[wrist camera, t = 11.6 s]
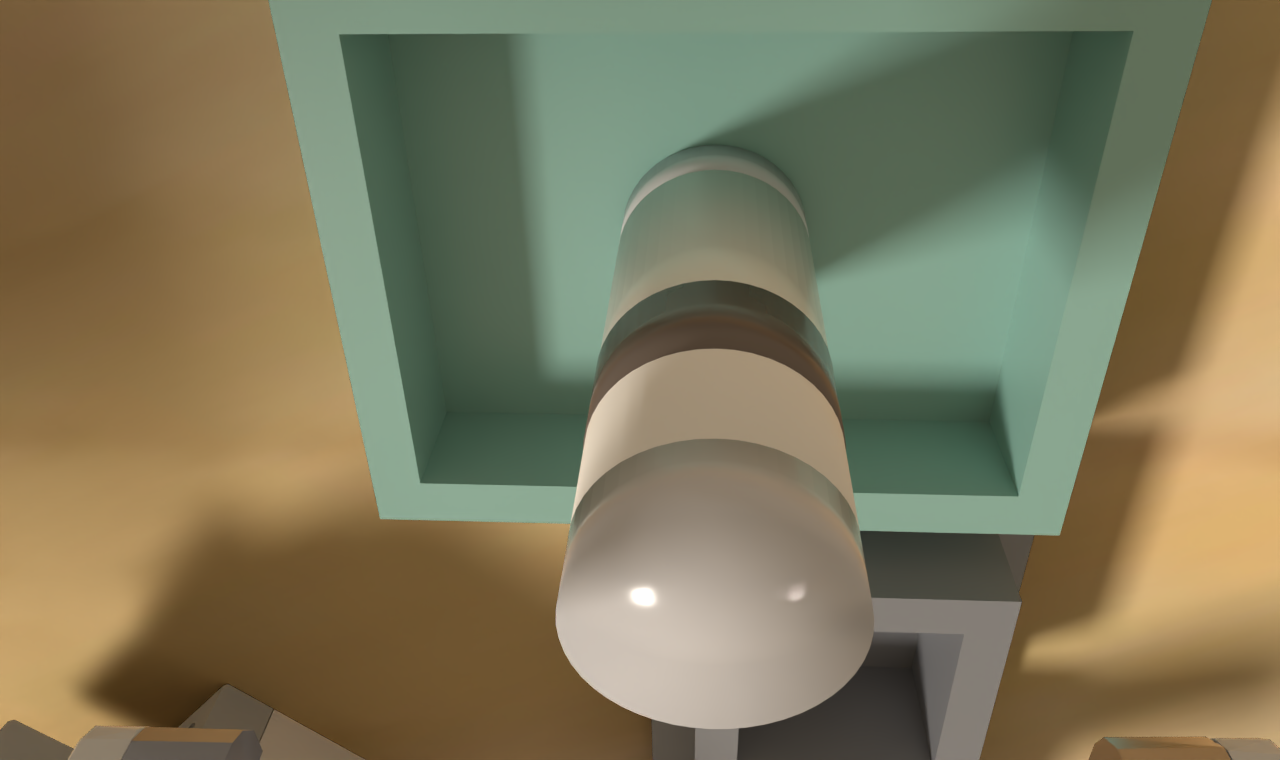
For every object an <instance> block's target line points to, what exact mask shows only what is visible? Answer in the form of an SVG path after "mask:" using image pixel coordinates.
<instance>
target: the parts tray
mask: <svg viewBox="0 0 1280 760" xmlns="http://www.w3.org/2000/svg"><path fill="white" fill-rule="evenodd" d="M268 1H269V6H270V10H271V15H272V20H273V24H274V29H275V33H276V38H277V43H278V47H279V52H280V57H281V61H282V66H283V71H284V75H285V80H286V84H287V89H288V94H289V98H290V103H291V108H292V112H293V117H294V122H295V126H296V131H297V136H298V140H299V145H300V149H301V154H302V159H303V163H304V168H305V173H306V177H307V182H308V187H309V191H310V196H311V200H312V205H313V210H314V214H315V219H316V224H317V228H318V233H319V238H320V242H321V247H322V252H323V256H324V261H325V265H326V270H327V275H328V279H329V284H330V289H331V293H332V298H333V303H334V307H335V312H336V316H337V321H338V326H339V330H340V335H341V340H342V344H343V349H344V354H345V358H346V363H347V367H348V372H349V377H350V381H351V386H352V391H353V395H354V400H355V405H356V409H357V414H358V419H359V423H360V428H361V432H362V437H363V442H364V446H365V451H366V456H367V460H368V465H369V470H370V474H371V479H372V483H373V488H374V493H375V497H376V502H377V507H378V511H379V516H380V519H398V520H440V521H481V522H522V523H564V524H571V518H572V512H573V507H574V501H575V495H576V489H577V483H578V478H579V472H580V466H581V460H582V455H583V440H584V435H585V429H586V423H587V417H588V412H589V406H590V400H591V395H592V389H593V383H594V378H595V372H596V366H597V361H598V356H599V353H600V351H601V345H602V339H603V333H604V328H605V322H606V316H607V310H608V304H609V299H610V293H611V287H612V281H613V276H614V270H615V264H616V258H617V252H618V247H619V241H620V235H621V229H622V224H623V218H624V212H625V208H626V205H627V202H628V199H629V197H630V195H631V193H632V191H633V189H634V188H635V186H636V185H637V184H638V182H639V181H640V179H641V178H642V177H643V176H644V175H645V174H646V173H647V172H648V171H649V170H650V169H651V168H652V167H653V166H655V165H656V164H657V163H658V162H660V161H662V160H663V159H665V158H666V157H668V156H670V155H672V154H674V153H677V152H679V151H682V150H685V149H688V148H692V147H697V146H702V145H729V146H734V147H739V148H743V149H746V150H749V151H752V152H754V153H756V154H758V155H760V156H762V157H764V158H766V159H767V160H769V161H770V162H772V163H773V164H775V165H776V166H777V167H778V168H779V169H780V170H782V171H783V172H784V174H785V175H786V176H787V177H788V178H789V179H790V181H791V182H792V184H793V185H794V187H795V188H796V190H797V192H798V194H799V196H800V198H801V201H802V204H803V208H804V211H805V217H806V223H807V228H808V234H809V240H810V246H811V252H812V257H813V263H814V269H815V275H816V281H817V286H818V292H819V298H820V304H821V310H822V315H823V321H824V327H825V333H826V339H827V344H828V350H829V353H830V357H831V360H832V365H833V371H834V377H835V382H836V388H837V394H838V400H839V405H840V411H841V417H842V423H843V428H844V434H845V442H846V454H847V460H848V466H849V472H850V478H851V483H852V489H853V495H854V501H855V507H856V512H857V518H858V524H859V530H860V531H894V532H935V533H977V534H1018V535H1059V536H1060V532H1061V529H1062V525H1063V522H1064V518H1065V515H1066V511H1067V508H1068V504H1069V501H1070V497H1071V494H1072V490H1073V487H1074V483H1075V480H1076V476H1077V473H1078V469H1079V466H1080V462H1081V459H1082V455H1083V452H1084V448H1085V445H1086V441H1087V438H1088V434H1089V430H1090V427H1091V423H1092V420H1093V416H1094V413H1095V409H1096V406H1097V402H1098V399H1099V395H1100V392H1101V388H1102V385H1103V381H1104V378H1105V374H1106V371H1107V367H1108V364H1109V360H1110V357H1111V353H1112V350H1113V346H1114V343H1115V339H1116V336H1117V332H1118V329H1119V325H1120V322H1121V318H1122V315H1123V311H1124V307H1125V304H1126V300H1127V297H1128V293H1129V290H1130V286H1131V283H1132V279H1133V276H1134V272H1135V269H1136V265H1137V262H1138V258H1139V255H1140V251H1141V248H1142V244H1143V241H1144V237H1145V234H1146V230H1147V227H1148V223H1149V220H1150V216H1151V213H1152V209H1153V206H1154V202H1155V199H1156V195H1157V191H1158V188H1159V184H1160V181H1161V177H1162V174H1163V170H1164V167H1165V163H1166V160H1167V156H1168V153H1169V149H1170V146H1171V142H1172V139H1173V135H1174V132H1175V128H1176V125H1177V121H1178V118H1179V114H1180V111H1181V107H1182V104H1183V100H1184V97H1185V93H1186V90H1187V86H1188V83H1189V79H1190V75H1191V72H1192V68H1193V65H1194V61H1195V58H1196V54H1197V51H1198V47H1199V44H1200V40H1201V37H1202V33H1203V30H1204V26H1205V23H1206V19H1207V16H1208V12H1209V9H1210V5H1211V2H1212V0H268Z"/></svg>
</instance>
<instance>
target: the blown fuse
mask: <svg viewBox="0 0 1280 760" xmlns="http://www.w3.org/2000/svg"><path fill="white" fill-rule="evenodd" d="M556 628H557V633H558V638H559V641H560V643H561V646H562V648H563V651H564V653H565V655H566V656H567V658H568V660H569V661H570V663H571V665H572V666H573V667H574V668H575V670H576V671H577V672H578V673H579V675H580V676H581V677H582V678H583V679H584V680H585V681H586V682H587V683H588V684H589V685H590V686H591V687H592V688H594V689H595V690H596V691H598V692H599V693H601V694H602V695H603V696H605V697H606V698H608V699H609V700H611V701H613V702H614V703H616V704H618V705H619V706H621V707H623V708H626V709H628V710H630V711H632V712H634V713H636V714H639V715H642V716H645V717H648V718H650V719H653V720H657V721H661V722H665V723H669V724H673V725H679V726H685V727H691V728H703V729H735V728H746V727H753V726H759V725H765V724H769V723H773V722H777V721H780V720H784V719H787V718H790V717H792V716H795V715H798V714H800V713H803V712H805V711H807V710H809V709H811V708H813V707H815V706H817V705H819V704H820V703H822V702H823V701H825V700H826V699H828V698H830V697H831V696H833V695H834V694H835V693H836V692H837V691H839V690H840V689H841V688H842V687H843V686H845V685H846V683H847V682H848V681H849V680H850V679H851V678H852V677H853V676H854V675H855V674H856V672H857V671H858V669H859V668H860V666H861V665H862V663H863V662H864V660H865V658H866V655H867V653H868V651H869V649H870V645H871V642H872V638H873V633H874V613H873V605H872V599H871V594H870V588H869V582H868V576H867V570H866V565H865V559H864V553H863V547H862V541H861V536H860V530H859V524H858V518H857V512H856V507H855V501H854V495H853V489H852V483H851V478H850V472H849V466H848V460H847V454H846V442H845V434H844V428H843V423H842V417H841V411H840V405H839V400H838V394H837V388H836V382H835V377H834V371H833V365H832V360H831V357H830V353H829V350H828V344H827V339H826V333H825V327H824V321H823V315H822V310H821V304H820V298H819V292H818V286H817V281H816V275H815V269H814V263H813V257H812V252H811V246H810V240H809V234H808V228H807V223H806V217H805V211H804V208H803V204H802V201H801V198H800V196H799V194H798V192H797V190H796V188H795V187H794V185H793V184H792V182H791V181H790V179H789V178H788V177H787V176H786V175H785V174H784V172H783V171H782V170H780V169H779V168H778V167H777V166H776V165H775V164H773V163H772V162H770V161H769V160H767V159H766V158H764V157H762V156H760V155H758V154H756V153H754V152H752V151H749V150H746V149H743V148H739V147H734V146H729V145H702V146H697V147H692V148H688V149H685V150H682V151H679V152H677V153H674V154H672V155H670V156H668V157H666V158H665V159H663V160H662V161H660V162H658V163H657V164H656V165H655V166H653V167H652V168H651V169H650V170H649V171H648V172H647V173H646V174H645V175H644V176H643V177H642V178H641V179H640V181H639V182H638V184H637V185H636V186H635V188H634V189H633V191H632V193H631V195H630V197H629V199H628V202H627V205H626V208H625V212H624V218H623V224H622V229H621V235H620V241H619V247H618V252H617V258H616V264H615V270H614V276H613V281H612V287H611V293H610V299H609V304H608V310H607V316H606V322H605V328H604V333H603V339H602V345H601V351H600V353H599V356H598V361H597V366H596V372H595V378H594V383H593V389H592V395H591V400H590V406H589V412H588V417H587V423H586V429H585V435H584V440H583V455H582V460H581V466H580V472H579V478H578V483H577V489H576V495H575V501H574V507H573V512H572V518H571V524H570V530H569V535H568V541H567V547H566V553H565V558H564V564H563V570H562V576H561V582H560V587H559V593H558V599H557V605H556Z"/></svg>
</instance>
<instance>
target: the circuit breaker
mask: <svg viewBox="0 0 1280 760" xmlns="http://www.w3.org/2000/svg"><path fill="white" fill-rule="evenodd" d="M272 710H273V708H271V707H269V706H267V705H265V704H264V703H262V702H260V701H258V700H256V699H254V698H253V697H251V696H249V695H247V694H245V693H243V692H242V691H240V690H238V689H236V688H234V687H233V686H231V685H229V684H227V685H224V686H223V687H221V688H220V689H219V690H218V691H217V692H216V693H215V694H214V695H213V696H212V697H211V698H209V699H208V700H207V701H206V702H205V703H204V704H203V705H202V706H201V707H200V708H198V709H197V710H196V711H195V712H194V713H193V714H192V715H191V716H190V717H189V718H188V719H186V720H185V721H184V722H183V723H182V724H181V725H180V726H179V727H178V728H202V729H236V730H254V732H255V734H256V736H257V739H258V741H259V743H260V746H261V748H262V750H263V752H262V755H261V757H260V760H365V759H363V758H361V757H359V756H358V755H356V754H354V753H352V752H350V751H349V750H347V749H345V748H343V747H341V746H340V745H338V744H336V743H334V742H332V741H331V740H329V739H327V738H325V737H323V736H322V735H320V734H318V733H316V732H314V731H313V730H311V729H309V728H307V727H305V726H303V725H302V724H300V723H298V722H296V721H294V720H293V719H291V718H289V717H287V716H285V715H284V714H282V713H280V712H278V711H276V710H275V709H274V710H273V711H272ZM73 750H74V749H73V748H71V747H69V746H67V745H65V744H63V743H61V742H59V741H57V740H55V739H53V738H51V737H48V736H46V735H44V734H42V733H40V732H38V731H36V730H34V729H32V728H30V727H28V726H26V725H24V724H22V723H20V722H18V721H16V720H12V721H8V722H7V723H6V724H5V725H4V726H3V727H2V729H1V730H0V760H68V758H69V757H70V755H71V753H72V752H73Z"/></svg>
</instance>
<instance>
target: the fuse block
mask: <svg viewBox="0 0 1280 760" xmlns="http://www.w3.org/2000/svg"><path fill="white" fill-rule="evenodd" d="M860 536H861V541H862V547H863V553H864V559H865V565H866V570H867V576H868V582H869V588H870V594H871V599H872V605H873V613H874V633H873V638H872V642H871V645H870V649H869V651H868V653H867V655H866V658H865V660H864V662H863V663H862V665H861V666H860V668H859V669H858V671H857V672H856V674H855V675H854V676H853V677H852V678H851V679H850V680H849V681H848V682H847V683H846V685H845V686H843V687H842V688H841V689H840V690H839V691H837V692H836V693H835V694H834V695H833V696H831V697H830V698H828V699H826V700H825V701H823V702H822V703H820V704H819V705H817V706H815V707H813V708H811V709H809V710H807V711H805V712H803V713H800V714H798V715H795V716H792V717H790V718H787V719H784V720H780V721H777V722H773V723H769V724H765V725H759V726H753V727H746V728H735V729H703V728H691V727H685V726H679V725H673V724H669V723H665V722H661V721H657V720H653V719H652V756H653V760H979V759H980V755H981V752H982V748H983V744H984V741H985V737H986V733H987V729H988V726H989V722H990V718H991V715H992V711H993V707H994V704H995V700H996V696H997V692H998V689H999V685H1000V681H1001V678H1002V674H1003V670H1004V666H1005V663H1006V659H1007V655H1008V652H1009V648H1010V644H1011V641H1012V637H1013V633H1014V629H1015V626H1016V622H1017V618H1018V615H1019V611H1020V607H1021V603H1022V601H1021V598H1020V595H1019V591H1020V587H1021V583H1022V579H1023V576H1024V572H1025V568H1026V564H1027V561H1028V557H1029V553H1030V549H1031V545H1032V542H1033V538H1034V535H1018V534H977V533H935V532H894V531H860Z"/></svg>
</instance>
